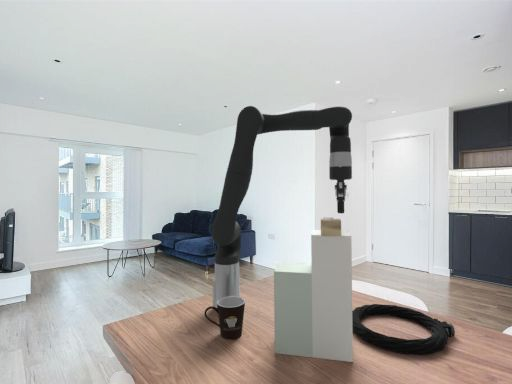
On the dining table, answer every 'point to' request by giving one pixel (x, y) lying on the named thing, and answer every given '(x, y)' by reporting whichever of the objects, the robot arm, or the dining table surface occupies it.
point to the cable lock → (397, 344)
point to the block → (330, 227)
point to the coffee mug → (229, 316)
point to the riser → (316, 301)
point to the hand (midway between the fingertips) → (340, 212)
